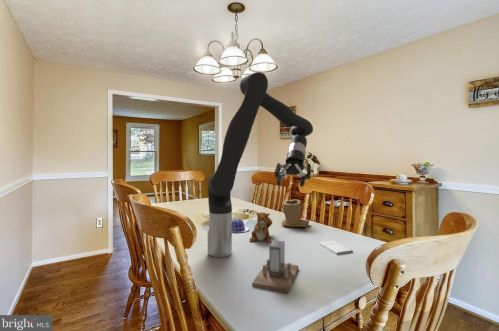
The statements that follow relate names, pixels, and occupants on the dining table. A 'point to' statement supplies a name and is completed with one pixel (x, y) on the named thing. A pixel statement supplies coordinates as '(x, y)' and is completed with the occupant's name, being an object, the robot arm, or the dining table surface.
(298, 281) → the dining table surface
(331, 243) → the external hard drive
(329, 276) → the dining table surface
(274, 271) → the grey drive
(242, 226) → the pudding
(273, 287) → the wooden peg stand
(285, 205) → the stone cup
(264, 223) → the stuffed squirrel
